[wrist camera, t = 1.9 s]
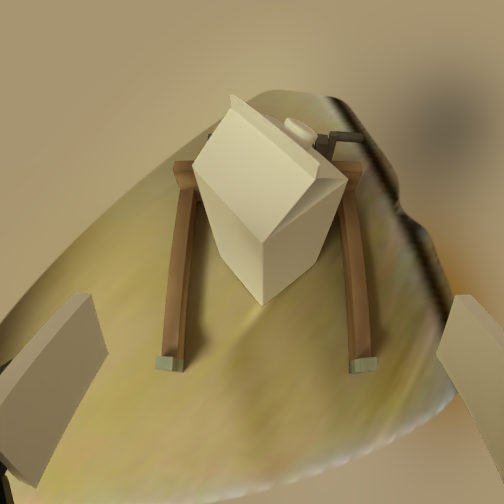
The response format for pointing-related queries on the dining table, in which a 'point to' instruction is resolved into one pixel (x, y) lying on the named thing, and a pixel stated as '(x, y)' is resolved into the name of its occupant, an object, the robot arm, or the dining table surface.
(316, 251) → the milk carton
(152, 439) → the dining table surface
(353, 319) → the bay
